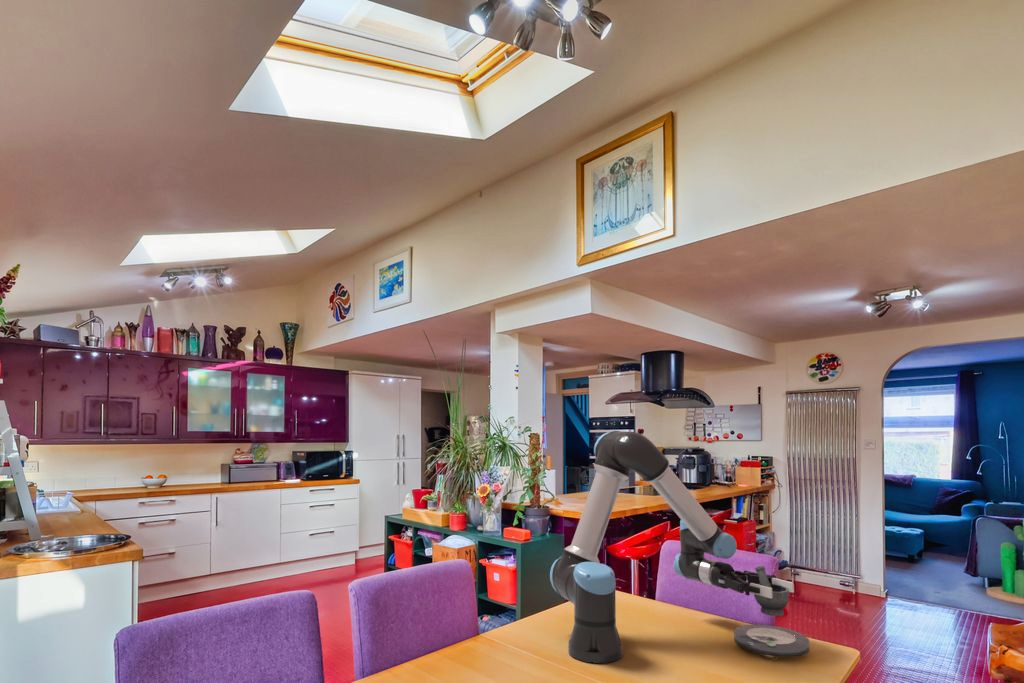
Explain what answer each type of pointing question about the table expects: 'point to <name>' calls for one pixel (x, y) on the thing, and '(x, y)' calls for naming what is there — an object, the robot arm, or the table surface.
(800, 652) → the base
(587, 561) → the robot arm
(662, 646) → the table surface
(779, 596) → the mortar and pestle
